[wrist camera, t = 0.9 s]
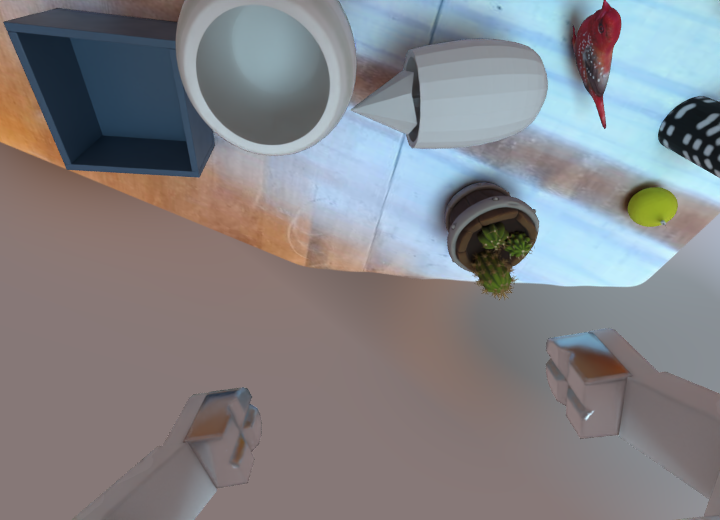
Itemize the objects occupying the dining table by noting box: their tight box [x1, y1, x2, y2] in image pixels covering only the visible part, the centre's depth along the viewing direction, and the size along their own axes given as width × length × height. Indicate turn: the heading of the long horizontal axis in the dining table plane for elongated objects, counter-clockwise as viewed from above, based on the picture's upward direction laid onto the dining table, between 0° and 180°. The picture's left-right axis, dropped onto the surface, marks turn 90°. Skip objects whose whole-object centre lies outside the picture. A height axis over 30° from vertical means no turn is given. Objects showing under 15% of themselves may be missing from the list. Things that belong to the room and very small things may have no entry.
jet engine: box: [351, 39, 548, 149], centre depth 44 cm, size 15×20×18 cm
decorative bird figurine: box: [572, 0, 621, 129], centre depth 48 cm, size 3×18×10 cm, turn 28°
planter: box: [176, 0, 357, 156], centre depth 38 cm, size 16×16×22 cm
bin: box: [3, 8, 215, 177], centre depth 45 cm, size 16×16×10 cm
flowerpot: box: [445, 183, 539, 300], centre depth 60 cm, size 14×15×20 cm
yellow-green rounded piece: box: [628, 187, 678, 228], centre depth 66 cm, size 7×7×10 cm
